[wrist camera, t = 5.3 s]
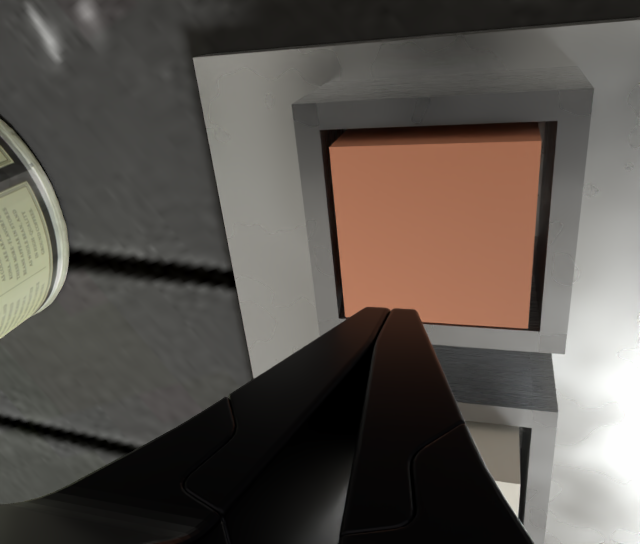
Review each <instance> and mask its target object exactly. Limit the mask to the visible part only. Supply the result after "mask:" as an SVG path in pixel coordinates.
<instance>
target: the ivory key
mask: <svg viewBox="0 0 640 544" xmlns="http://www.w3.org/2000/svg"><path fill="white" fill-rule="evenodd" d="M465 423H466V425H467V427H468V429H469V431H470V433H471V435H472V438H473V440H474V442H475V444H476V446H477V449H478V451H479V453H480V455H481V457H482V459H483V461H484V463H485V465H486V467H487V469H488V470H489V472H490V474H491V475H492V477H493V479H494V480H495V482H496V484H497V485H498V487H499V489H500V490H501V492H502V494H503V495H504V497H505V499H506V500H507V502H508V503H509V505H510V506H511V508H512V509H513V511H514V512H515V514H516V516H517V517H518V511H519V498H520V485H521V483H520V446H519V427H518V426H509V425H501V424H492V423H483V422H474V421H465Z"/></svg>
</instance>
